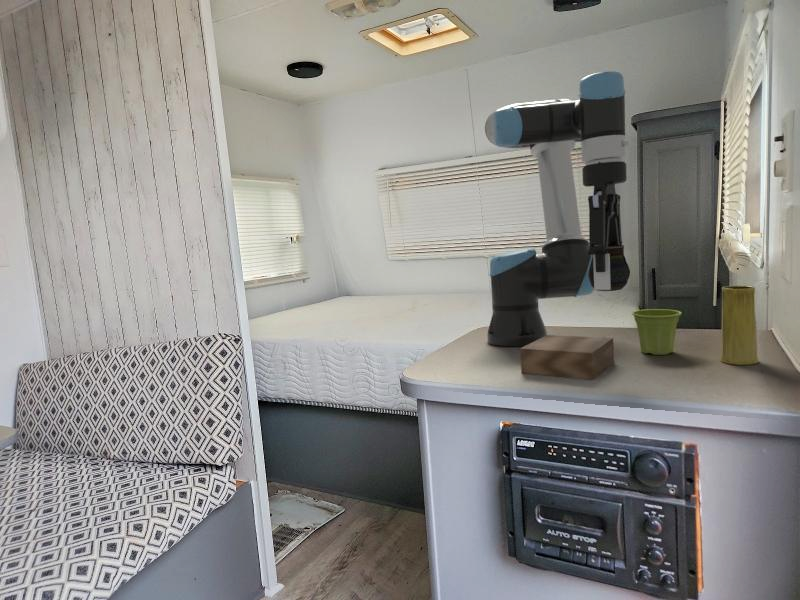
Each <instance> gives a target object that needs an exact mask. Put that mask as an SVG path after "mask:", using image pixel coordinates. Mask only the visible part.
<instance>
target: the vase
mask: <svg viewBox="0 0 800 600" xmlns="http://www.w3.org/2000/svg"><path fill="white" fill-rule="evenodd" d="M721 292H722V294H721V296H722V297H721V336H720V337H721V341H720V342H721V343H720V357H719V359H720V361H721V362H722V363H724V364H728V365H736V366H748V365H749V366H750V365H755V364H757V363H759V357H758V342H757V341H758V339H757V320H756V310H755V309H756V308H755V306H756V305H755V292H756V287H755V286H752V285H727V286H726V285H725V286H722V288H721Z"/></svg>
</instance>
